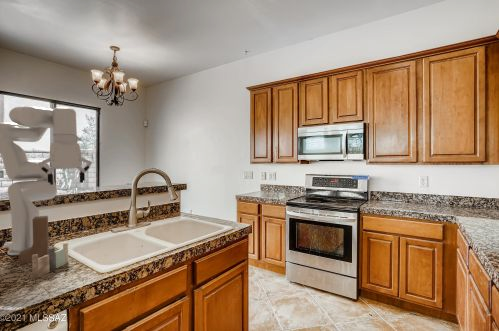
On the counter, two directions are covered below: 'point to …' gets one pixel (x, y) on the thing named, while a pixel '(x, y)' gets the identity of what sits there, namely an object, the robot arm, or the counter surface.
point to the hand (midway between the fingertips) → (66, 183)
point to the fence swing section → (61, 256)
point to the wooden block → (37, 240)
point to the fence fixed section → (43, 263)
